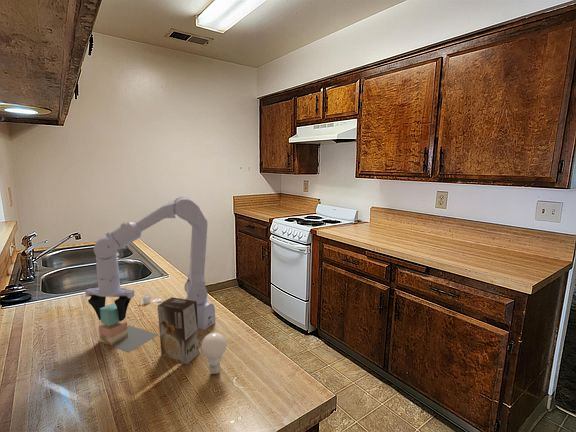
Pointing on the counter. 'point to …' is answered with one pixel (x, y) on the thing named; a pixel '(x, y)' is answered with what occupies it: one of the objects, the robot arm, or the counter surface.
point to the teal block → (109, 314)
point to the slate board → (133, 339)
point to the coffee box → (179, 329)
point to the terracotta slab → (112, 329)
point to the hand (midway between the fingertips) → (112, 318)
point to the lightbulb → (213, 350)
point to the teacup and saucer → (149, 299)
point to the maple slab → (113, 338)
